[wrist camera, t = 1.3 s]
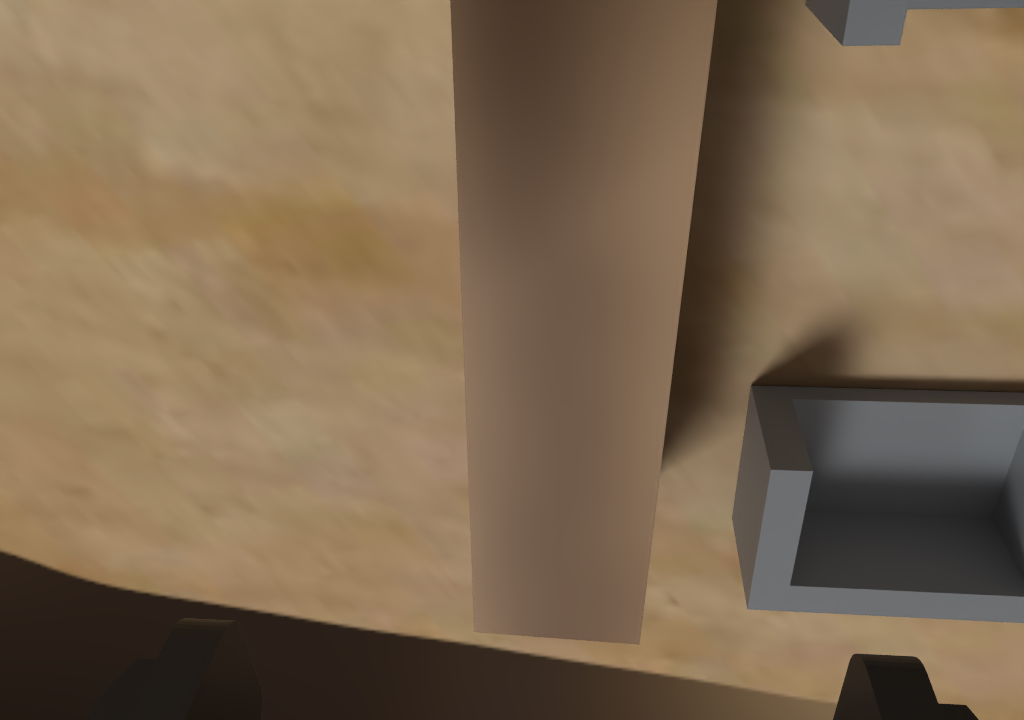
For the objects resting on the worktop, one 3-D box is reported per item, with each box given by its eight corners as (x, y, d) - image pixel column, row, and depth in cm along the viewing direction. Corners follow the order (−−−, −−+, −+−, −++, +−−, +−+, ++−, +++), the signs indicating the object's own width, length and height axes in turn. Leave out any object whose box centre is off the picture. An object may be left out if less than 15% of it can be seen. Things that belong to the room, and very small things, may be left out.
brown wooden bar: (692, -94, 18) (723, -49, 13) (633, 485, 27) (639, 644, 22) (492, -96, 18) (448, -53, 13) (499, 477, 27) (474, 631, 22)
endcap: (732, 518, 27) (747, 609, 24) (750, 385, 24) (770, 469, 21) (1009, 528, 26) (1062, 624, 23) (1062, 393, 23) (1128, 482, 20)
